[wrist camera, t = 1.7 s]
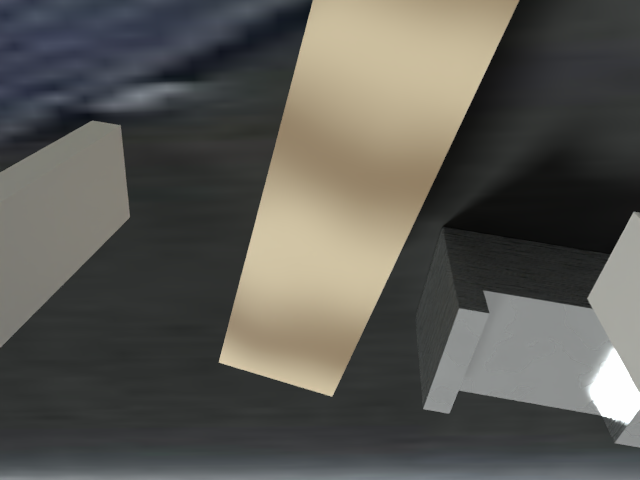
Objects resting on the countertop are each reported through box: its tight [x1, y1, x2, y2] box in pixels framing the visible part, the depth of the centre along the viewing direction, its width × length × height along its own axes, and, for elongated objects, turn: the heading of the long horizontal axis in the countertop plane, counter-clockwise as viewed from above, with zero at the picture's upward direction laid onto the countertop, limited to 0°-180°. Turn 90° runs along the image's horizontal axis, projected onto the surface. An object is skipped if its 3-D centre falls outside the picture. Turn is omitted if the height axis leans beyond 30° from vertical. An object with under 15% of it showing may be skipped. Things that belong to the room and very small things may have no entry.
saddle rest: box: [416, 227, 640, 447], centre depth 23 cm, size 10×6×6 cm, turn 83°
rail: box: [219, 0, 519, 396], centre depth 18 cm, size 20×5×8 cm, turn 163°
